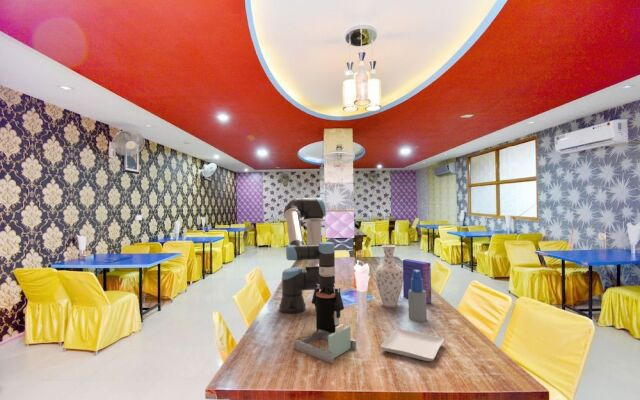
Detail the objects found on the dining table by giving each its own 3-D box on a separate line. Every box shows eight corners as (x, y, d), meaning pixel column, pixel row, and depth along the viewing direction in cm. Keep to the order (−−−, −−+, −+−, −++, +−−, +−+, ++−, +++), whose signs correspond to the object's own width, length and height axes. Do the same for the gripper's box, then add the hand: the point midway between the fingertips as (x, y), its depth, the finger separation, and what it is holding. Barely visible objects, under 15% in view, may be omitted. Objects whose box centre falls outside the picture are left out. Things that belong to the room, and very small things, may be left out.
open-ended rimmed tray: (294, 348, 133) (294, 340, 133) (319, 336, 145) (319, 328, 145) (332, 363, 120) (332, 354, 120) (356, 349, 132) (356, 340, 132)
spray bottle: (409, 315, 171) (408, 268, 172) (426, 316, 169) (425, 269, 169) (408, 320, 163) (407, 271, 163) (426, 322, 160) (425, 272, 160)
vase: (373, 307, 184) (372, 247, 185) (378, 300, 199) (378, 243, 200) (401, 311, 178) (400, 248, 178) (405, 302, 193) (404, 244, 193)
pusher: (328, 359, 123) (328, 330, 123) (348, 347, 133) (347, 320, 133) (330, 360, 122) (330, 331, 122) (350, 348, 132) (350, 321, 132)
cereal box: (431, 302, 193) (430, 262, 193) (426, 304, 190) (425, 263, 190) (408, 296, 207) (407, 258, 207) (403, 297, 204) (402, 259, 205)
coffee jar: (337, 336, 145) (336, 296, 145) (314, 334, 147) (313, 295, 147) (340, 327, 155) (339, 290, 155) (318, 326, 157) (318, 289, 157)
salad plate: (433, 367, 117) (433, 358, 117) (379, 353, 128) (379, 345, 128) (445, 345, 135) (445, 337, 135) (396, 335, 146) (396, 327, 146)
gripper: (303, 273, 156) (304, 318, 156) (341, 279, 141) (342, 330, 141) (314, 270, 162) (314, 314, 161) (351, 276, 147) (352, 325, 146)
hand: (327, 321), depth 151 cm, fingers closed on coffee jar, 11 cm apart
